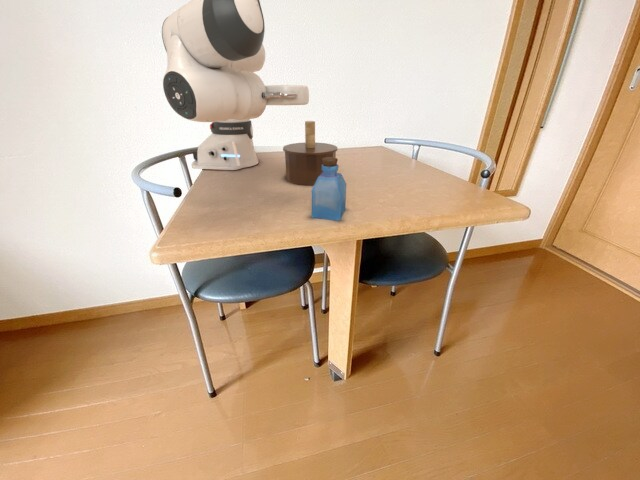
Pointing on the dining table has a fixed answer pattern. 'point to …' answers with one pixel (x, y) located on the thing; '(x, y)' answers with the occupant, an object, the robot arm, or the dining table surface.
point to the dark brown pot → (304, 167)
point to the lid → (310, 144)
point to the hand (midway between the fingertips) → (285, 95)
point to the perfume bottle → (329, 192)
